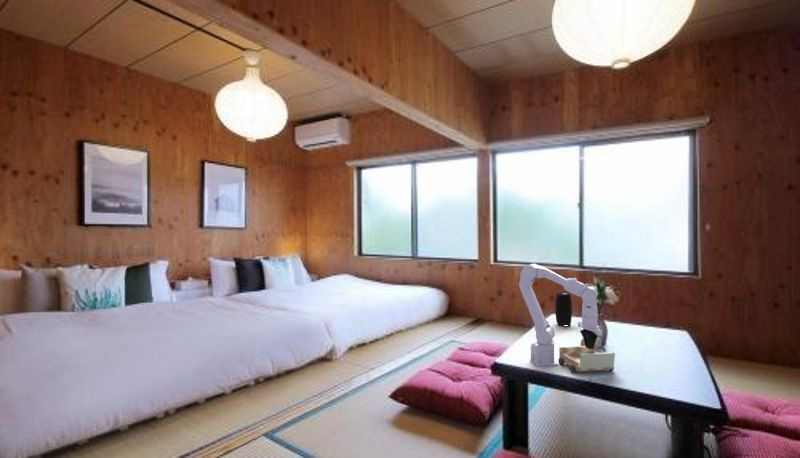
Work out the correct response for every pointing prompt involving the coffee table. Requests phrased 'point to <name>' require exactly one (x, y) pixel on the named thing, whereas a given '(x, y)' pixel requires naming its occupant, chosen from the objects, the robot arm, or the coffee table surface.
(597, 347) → the ceramic mug
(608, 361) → the tailgate
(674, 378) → the coffee table surface
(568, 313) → the portable speaker
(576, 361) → the wagon
